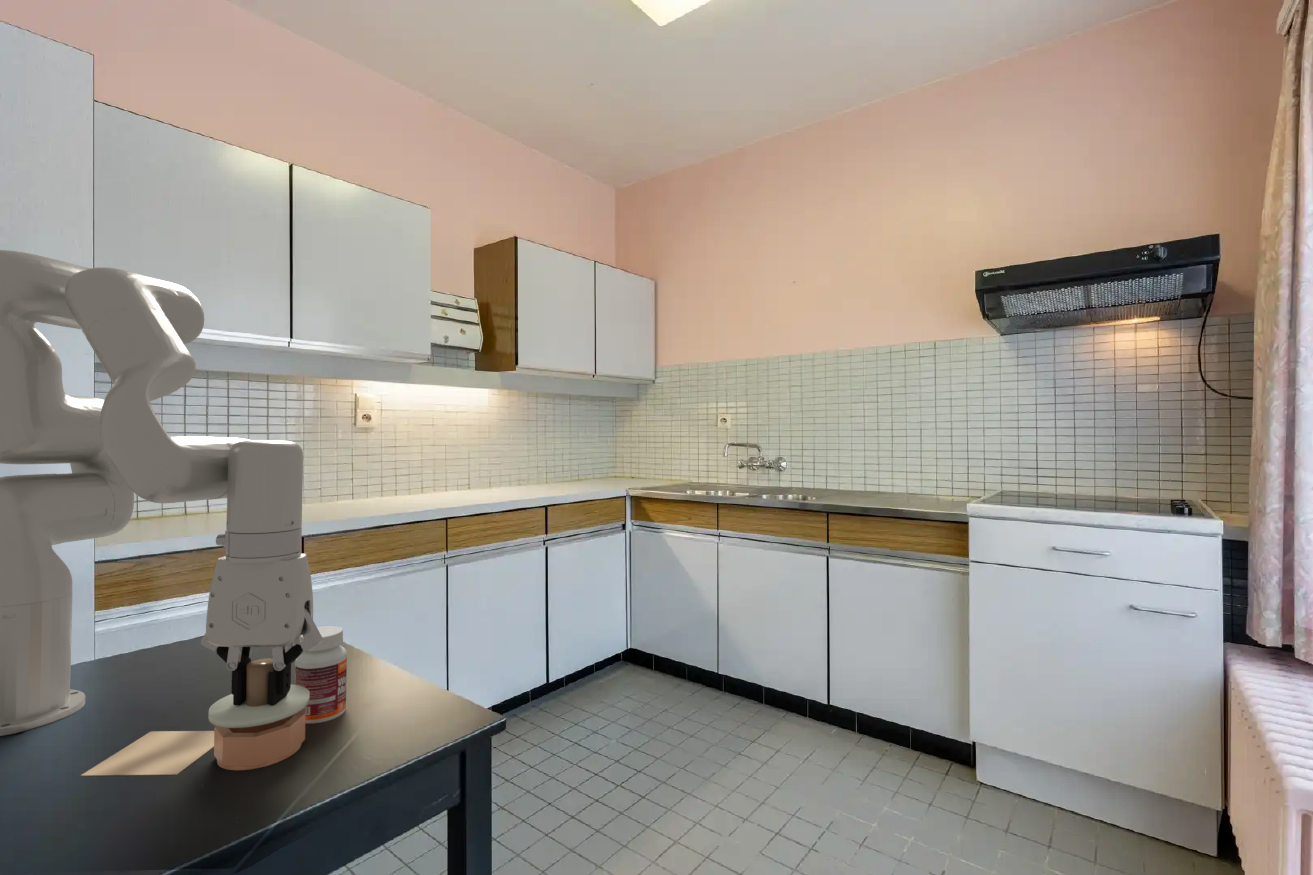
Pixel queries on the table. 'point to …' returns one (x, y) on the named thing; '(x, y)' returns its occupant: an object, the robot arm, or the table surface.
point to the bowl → (259, 743)
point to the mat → (157, 754)
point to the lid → (257, 701)
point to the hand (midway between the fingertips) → (261, 698)
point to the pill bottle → (324, 676)
